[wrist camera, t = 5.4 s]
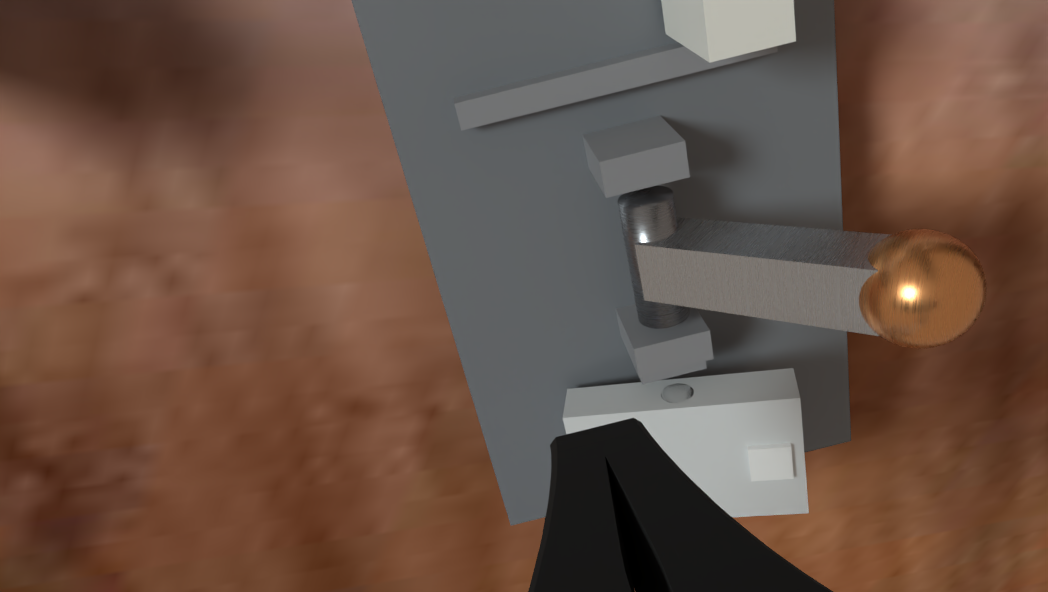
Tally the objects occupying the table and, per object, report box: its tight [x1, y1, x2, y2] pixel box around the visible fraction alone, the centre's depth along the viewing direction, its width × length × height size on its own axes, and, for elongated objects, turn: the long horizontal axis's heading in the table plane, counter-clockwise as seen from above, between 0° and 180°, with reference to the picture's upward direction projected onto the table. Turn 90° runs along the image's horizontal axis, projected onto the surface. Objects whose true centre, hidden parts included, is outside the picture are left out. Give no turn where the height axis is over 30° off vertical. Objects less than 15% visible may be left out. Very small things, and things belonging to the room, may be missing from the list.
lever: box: [617, 185, 986, 348], centre depth 17 cm, size 3×2×7 cm
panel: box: [352, 0, 851, 525], centre depth 20 cm, size 17×10×4 cm, turn 12°
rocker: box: [563, 368, 809, 517], centre depth 21 cm, size 4×6×1 cm, turn 102°
